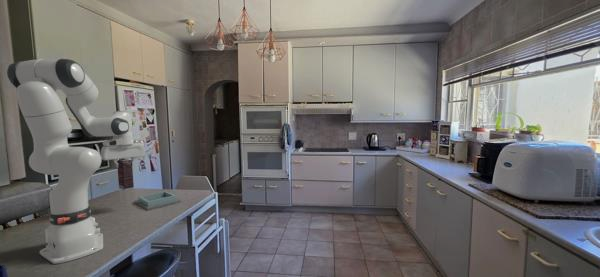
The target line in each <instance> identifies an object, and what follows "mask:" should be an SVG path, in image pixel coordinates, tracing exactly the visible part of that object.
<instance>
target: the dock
mask: <svg viewBox="0 0 600 277" xmlns="http://www.w3.org/2000/svg"><path fill="white" fill-rule="evenodd" d="M133 202H134V203H135V204H137V205H138V206H140V207H141V208H143V209H144V210H146V211H152V210H156V209H159V208H163V207H164V208H165V207H167V206H172V205H176V204H178V203H179V204H180V203H182V200H181V199H180V198H177V195H176V194H174V193H171V192H169V191H166V190H165V191H160V192H154V193H150V194H146V195H141V196H138V199H134V201H133Z"/></svg>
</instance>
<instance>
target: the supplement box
mask: <svg viewBox="0 0 600 277" xmlns="http://www.w3.org/2000/svg"><path fill="white" fill-rule="evenodd" d="M117 163H118V164H120V166H121V167H119V168H117V177H118V189H120V190H122V191H129V190H134V189H135V186H134V185H135V184H134V173H133V172H134V171H133V166H132V159H129V158H124V159H118V161H117Z"/></svg>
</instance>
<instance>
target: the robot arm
mask: <svg viewBox="0 0 600 277" xmlns="http://www.w3.org/2000/svg"><path fill="white" fill-rule="evenodd" d="M6 75H7V78H8V81H9V82H10V84H11V85H13V86H14V87H15V88H16V89H15V91H16V92H15V94H16V98H17V102H18V105H19V109H20V111H21V113H22V116H23V118H24V120H25V123H26V125H27V128H28V129H29V132H30V133H31V136H32V142H33V151H32V153H31V154H30V156H29V159H28V166H29V167H30V168H31V170H33V171H34V172H37V173H40V174H44V175H49V176H51V175H52V176H58V182H57V185H56V186H55V187H54V188H53V189H51V191H50V192H49V195H48V196H49V207H50V213H49V217H48V218H49V223H50V225H49V226H48V227H47V228H46V229H45V230H44V231H45V232H44V234H45V248H42V249H41V250H39V255H41V257H43V258H44V259H46V260H48V261H49V262H50V263H52V264H53V265H54V264H63V263H67V262H70V261H74V260H77V259H80V258H84V257H87V256H89V255H92V254H95V253H97V252H99V251H101V250H103V249H104V234H103V233H101V227H98V226H99V224H98V222H96V218H95V217H93V216H92V210H91V206H90V205H89V193H88V192H89V190H88V189H89V184H90V181H91V178H92V176H93V174H94V173H95V172H97V171H98V170H99V169H100V167H101V164H102V162H103V161H113V162H114V164H115V167H116V169H118V168H119V167H121V166H120V164H118V163H117V161H118V160H122V159H130V160H132V167H133V166H134V162H135V161H136V158H141V157H143V158H144V157H145V156H146V150H145V147H146V146H145V145H146V144H145V142H144V141H142V140H134V134H133V120H132V119H133V118H132V115H131V113H129V112H128V111H123V110H116V111H114V112H112V113H113V114H112V115H110V116H109V117H104V116H103V117H99V116H98V117H97V116H93V115H91V113H90V112H89V111H88V109H87V108H86V107H88V106H91V105H92V104H93V103H95V102H96V100H97V99H98V97H99V95H100V94H99V89H98V86H96V84H95V83H94V82H93V80H92V79H91V78H90V76H88V74H86V72H85V71H84V69H83V67H82V66H81V65H80V64H79V63H78V62H76V61H75V60H73V59H70V58H60V59H58V58H57V59H53V58H49V59H47V58H37V59H30V60H20V61H16V62H13V63H10V65H9V64H8V68H7V71H6ZM57 90H61V92H62V93H64V94H65V96H66V97H65V104H66V106H67V108H68V110H69V111H70V112H71V114H72V115H73V117H74V118H75V120H76V121H77V123H78V124H79V126H80V129H81V130H82V132H83V134H84V135H85V136H87V137H89V138H99V137H112V138H111V139H108V140H104V141H103V142H102V147H101V150H100V152H98V151H97V150H96V149H94V148H90V147H85V146H70V145H69V142H68V136H69V135H70V134H71V133H72V131H73V126H72V123H71V121H70V119H69V118H70V117H69V116H68V113H67V112H66V109H65V107H64V104H63V101H61V98H60V96H59V95H58V93H57ZM96 227H97V228H96Z"/></svg>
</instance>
